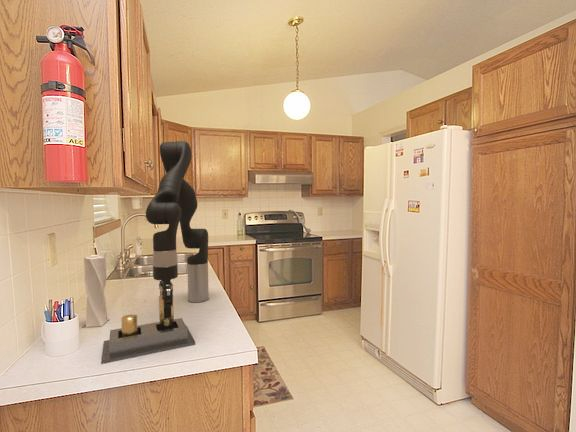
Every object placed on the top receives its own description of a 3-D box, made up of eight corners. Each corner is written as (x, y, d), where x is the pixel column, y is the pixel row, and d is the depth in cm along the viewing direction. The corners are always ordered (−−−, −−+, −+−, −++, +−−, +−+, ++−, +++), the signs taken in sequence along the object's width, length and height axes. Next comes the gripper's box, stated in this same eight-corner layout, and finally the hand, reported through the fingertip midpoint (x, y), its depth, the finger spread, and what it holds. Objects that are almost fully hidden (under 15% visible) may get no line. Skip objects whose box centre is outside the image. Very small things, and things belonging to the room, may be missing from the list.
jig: (103, 343, 104) (102, 313, 103) (186, 328, 116) (186, 301, 115) (101, 363, 91) (100, 329, 90) (195, 344, 102) (194, 314, 102)
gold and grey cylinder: (158, 322, 106) (158, 295, 106) (172, 320, 108) (172, 293, 108) (160, 326, 103) (159, 299, 102) (174, 324, 105) (174, 297, 104)
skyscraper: (113, 320, 125) (111, 249, 124) (104, 328, 117) (102, 252, 116) (90, 321, 124) (87, 249, 123) (79, 329, 116) (76, 253, 115)
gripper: (151, 261, 109) (152, 310, 110) (155, 268, 97) (156, 324, 97) (174, 259, 113) (175, 307, 113) (180, 266, 100) (182, 320, 101)
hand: (166, 315), depth 105 cm, fingers closed on gold and grey cylinder, 4 cm apart
